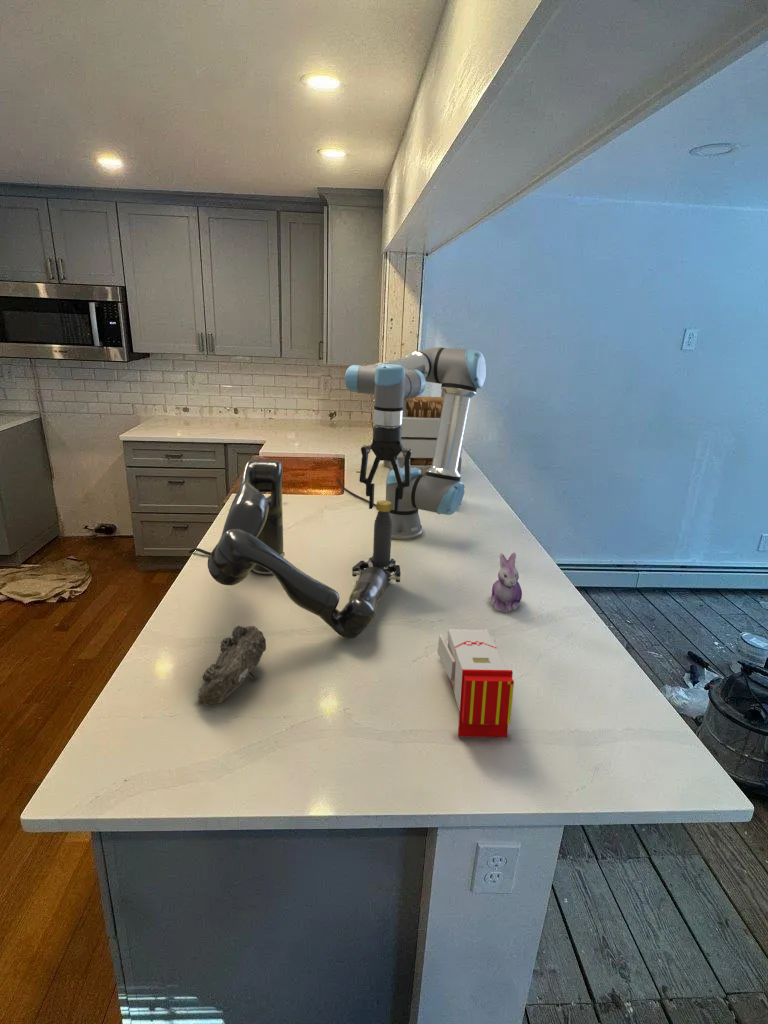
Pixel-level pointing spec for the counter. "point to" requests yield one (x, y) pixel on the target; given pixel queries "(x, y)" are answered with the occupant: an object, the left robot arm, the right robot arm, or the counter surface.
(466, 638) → the toy
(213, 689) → the fossil
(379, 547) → the bottle
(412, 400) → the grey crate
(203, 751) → the counter surface
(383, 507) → the cap
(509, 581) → the figurine
